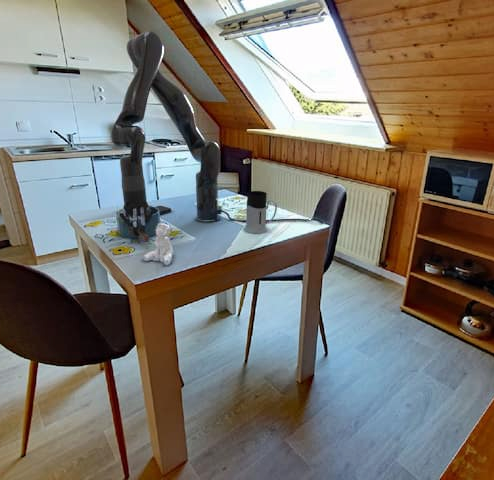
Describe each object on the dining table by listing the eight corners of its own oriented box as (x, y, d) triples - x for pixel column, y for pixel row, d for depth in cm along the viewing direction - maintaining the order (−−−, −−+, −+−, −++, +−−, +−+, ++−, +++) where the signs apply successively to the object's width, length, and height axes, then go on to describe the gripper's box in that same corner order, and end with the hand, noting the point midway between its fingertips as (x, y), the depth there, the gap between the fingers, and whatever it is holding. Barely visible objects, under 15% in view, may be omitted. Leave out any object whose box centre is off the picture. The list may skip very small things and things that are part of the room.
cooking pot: (164, 224, 144) (163, 206, 141) (154, 238, 129) (153, 218, 126) (126, 223, 145) (124, 205, 142) (112, 237, 130) (109, 217, 127)
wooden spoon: (153, 240, 119) (152, 235, 118) (141, 243, 116) (140, 238, 116) (138, 229, 129) (137, 224, 128) (126, 232, 126) (126, 227, 125)
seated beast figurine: (142, 261, 111) (139, 225, 106) (157, 251, 118) (154, 217, 114) (168, 266, 108) (165, 229, 103) (181, 255, 115) (179, 221, 111)
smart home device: (171, 208, 161) (136, 218, 146) (172, 211, 161) (136, 222, 147) (160, 204, 165) (124, 214, 151) (160, 208, 166) (125, 218, 151)
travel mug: (254, 224, 145) (256, 189, 140) (281, 233, 136) (284, 195, 130) (240, 229, 139) (241, 193, 134) (267, 238, 130) (269, 200, 124)
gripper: (117, 192, 110) (124, 243, 116) (157, 186, 117) (161, 234, 124) (109, 188, 115) (116, 236, 122) (148, 182, 123) (152, 228, 129)
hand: (139, 235), depth 123 cm, fingers closed on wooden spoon, 1 cm apart
